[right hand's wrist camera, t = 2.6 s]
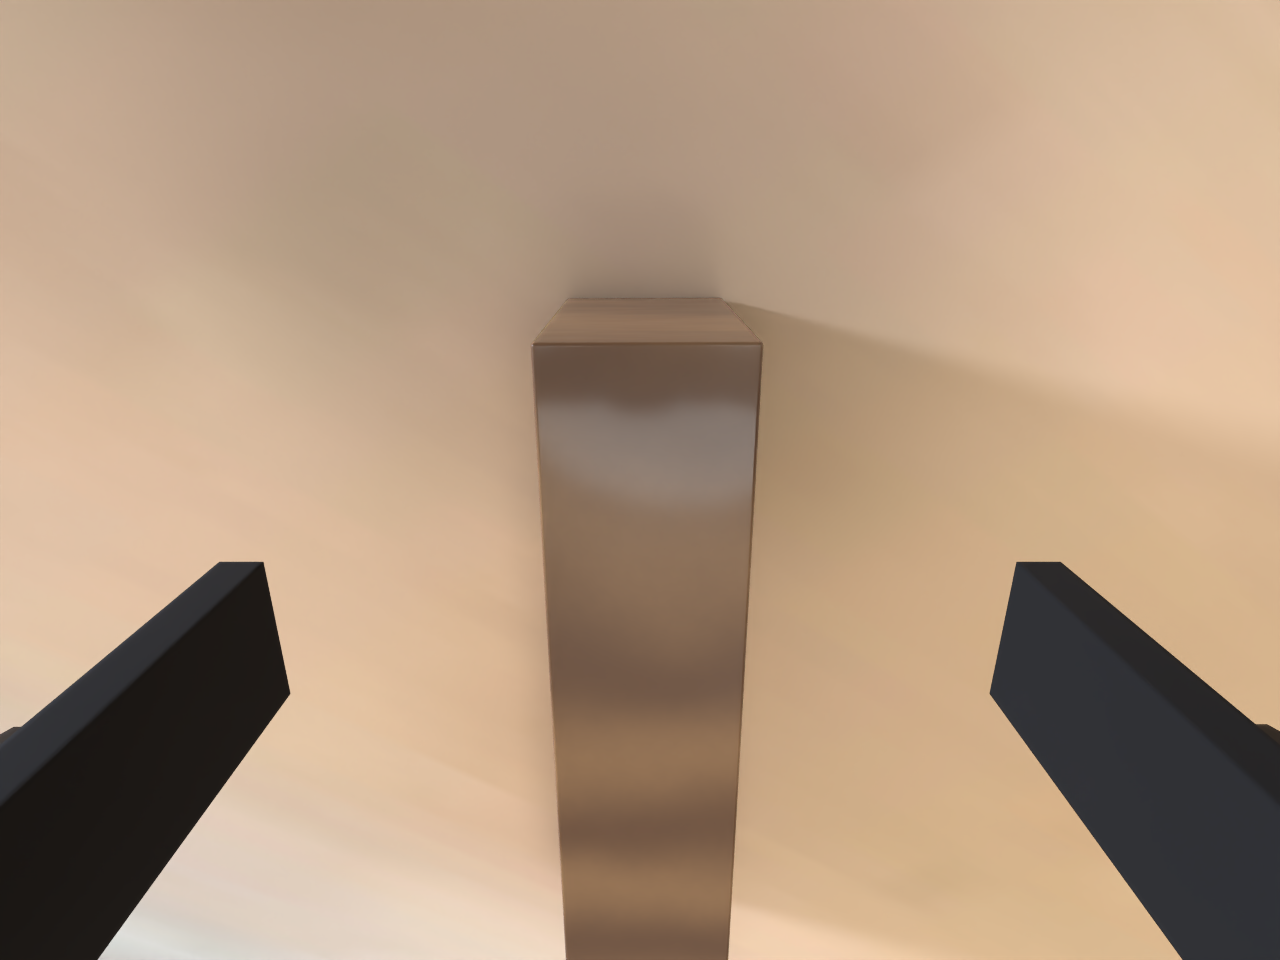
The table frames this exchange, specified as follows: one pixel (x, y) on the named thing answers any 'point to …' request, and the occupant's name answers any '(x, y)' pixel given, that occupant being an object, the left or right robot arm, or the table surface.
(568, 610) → the bar
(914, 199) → the table surface
